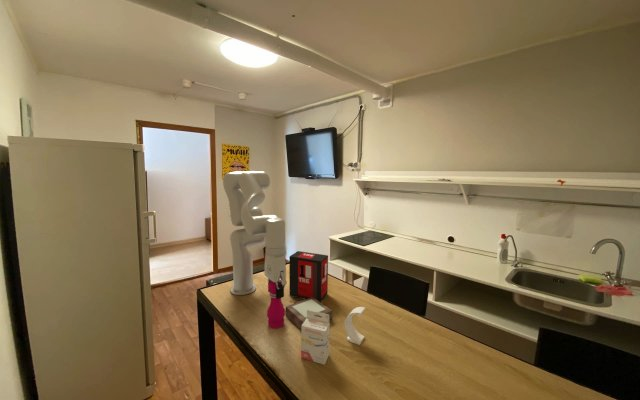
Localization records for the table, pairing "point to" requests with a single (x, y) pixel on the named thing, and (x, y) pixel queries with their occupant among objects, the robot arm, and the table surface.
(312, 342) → the ink cartridge box
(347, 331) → the headphone stand
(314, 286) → the cleaning product box
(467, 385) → the table surface
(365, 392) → the table surface
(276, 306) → the pepper mill
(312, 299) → the walnut frame
